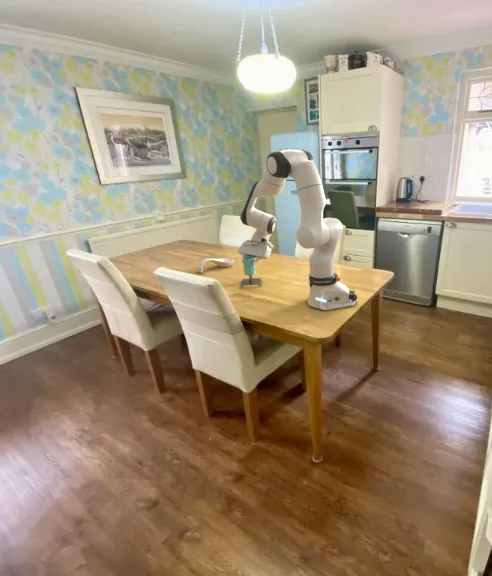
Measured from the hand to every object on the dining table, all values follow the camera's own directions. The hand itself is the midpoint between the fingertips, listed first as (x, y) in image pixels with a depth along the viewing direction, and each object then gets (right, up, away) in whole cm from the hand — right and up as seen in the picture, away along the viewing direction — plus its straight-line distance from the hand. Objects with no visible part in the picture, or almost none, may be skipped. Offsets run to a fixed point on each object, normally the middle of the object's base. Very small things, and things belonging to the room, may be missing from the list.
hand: (248, 263), depth 171 cm
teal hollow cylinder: (+1, -5, +3) cm, 6 cm away
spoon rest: (-27, -1, +32) cm, 42 cm away
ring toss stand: (+1, -11, +5) cm, 12 cm away
